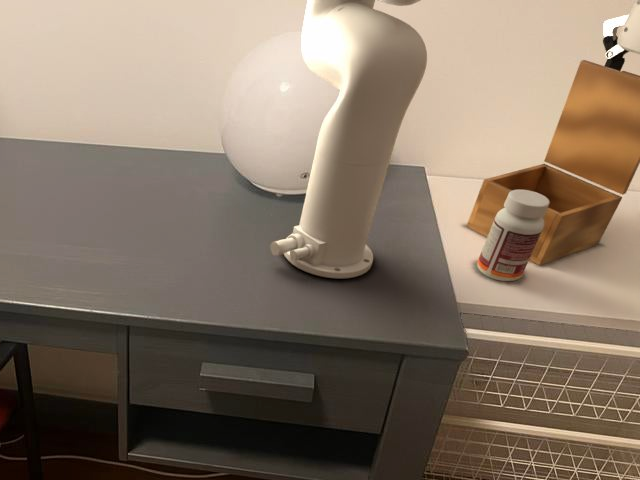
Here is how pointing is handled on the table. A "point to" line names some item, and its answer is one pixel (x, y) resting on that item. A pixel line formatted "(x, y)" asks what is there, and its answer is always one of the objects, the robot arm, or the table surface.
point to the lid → (600, 127)
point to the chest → (550, 209)
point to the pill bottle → (513, 235)
